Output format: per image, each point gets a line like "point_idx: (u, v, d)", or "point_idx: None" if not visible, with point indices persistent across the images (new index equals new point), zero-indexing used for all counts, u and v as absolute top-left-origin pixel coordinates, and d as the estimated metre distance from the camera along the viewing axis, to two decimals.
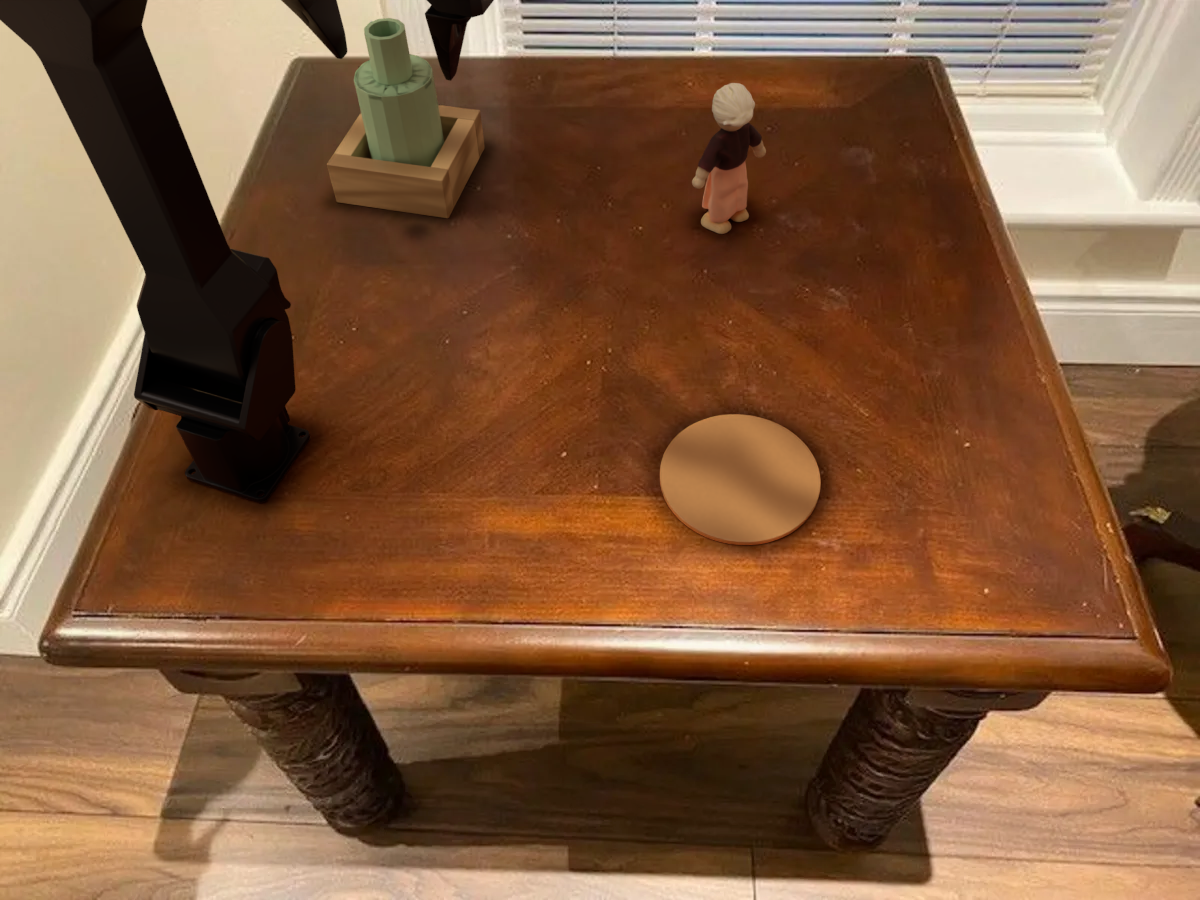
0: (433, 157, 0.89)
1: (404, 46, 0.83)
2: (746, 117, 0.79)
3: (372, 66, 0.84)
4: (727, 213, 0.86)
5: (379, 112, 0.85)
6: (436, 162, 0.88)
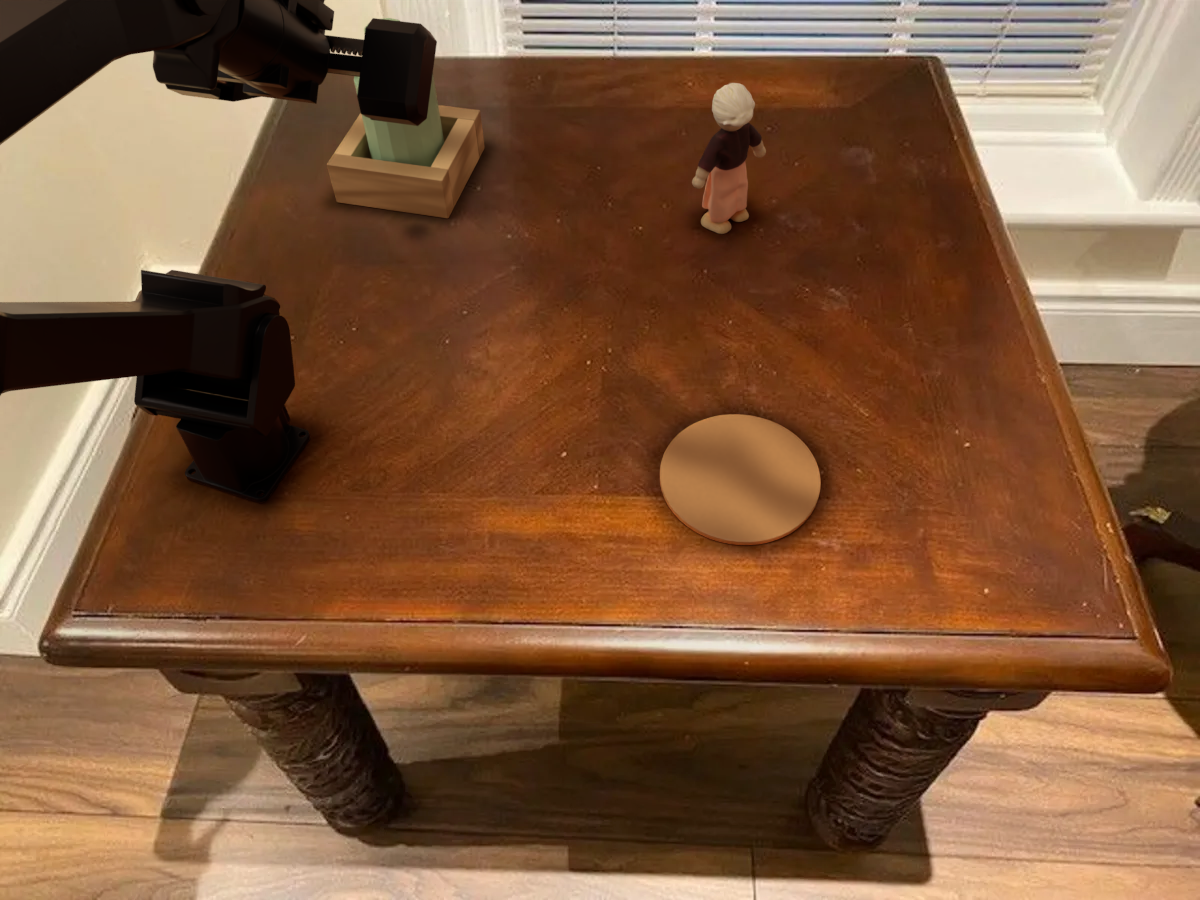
0: (433, 157, 0.89)
1: None
2: (746, 117, 0.79)
3: None
4: (727, 213, 0.86)
5: None
6: (436, 162, 0.88)
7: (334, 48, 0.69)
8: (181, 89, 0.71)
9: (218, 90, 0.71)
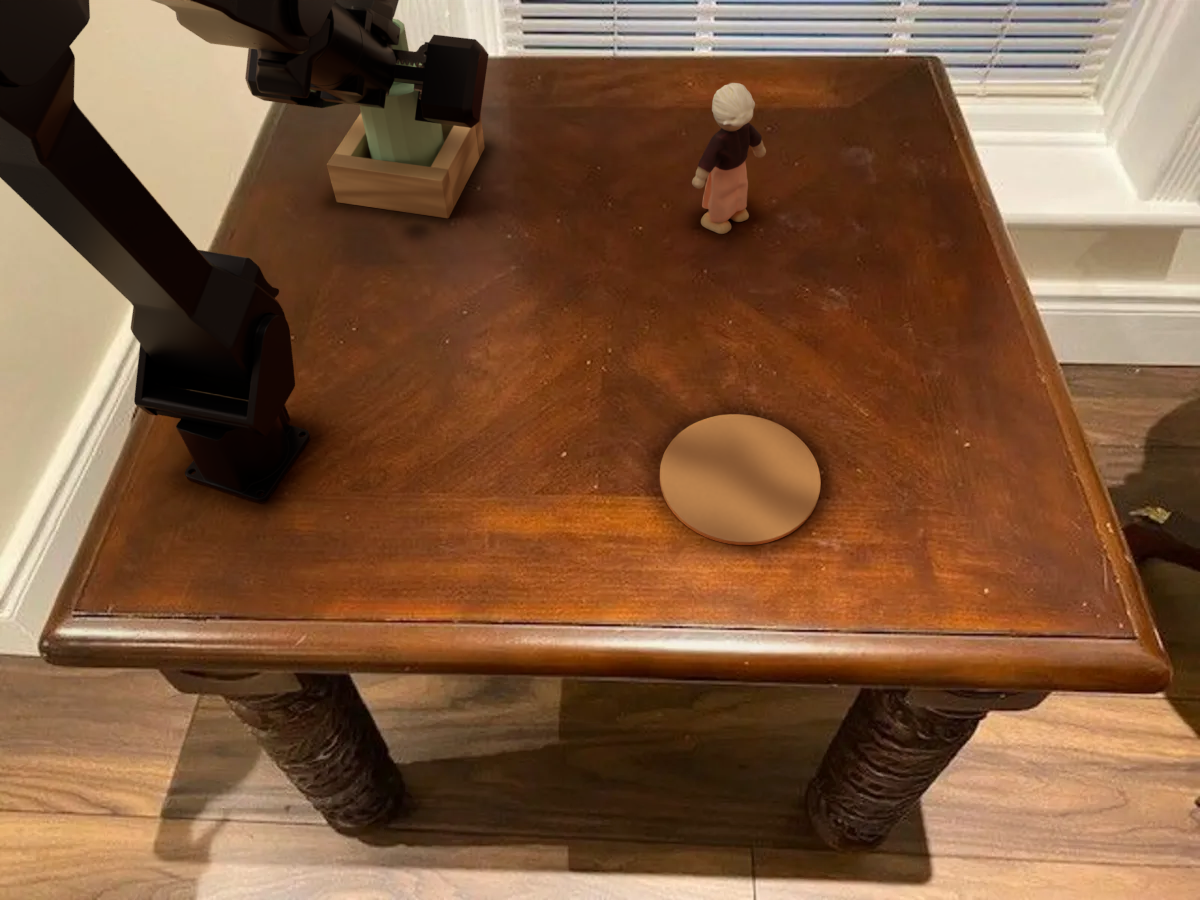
0: (433, 157, 0.89)
1: (404, 46, 0.83)
2: (746, 117, 0.79)
3: None
4: (727, 213, 0.86)
5: (379, 112, 0.85)
6: (436, 162, 0.88)
7: None
8: (265, 96, 0.81)
9: (296, 96, 0.81)
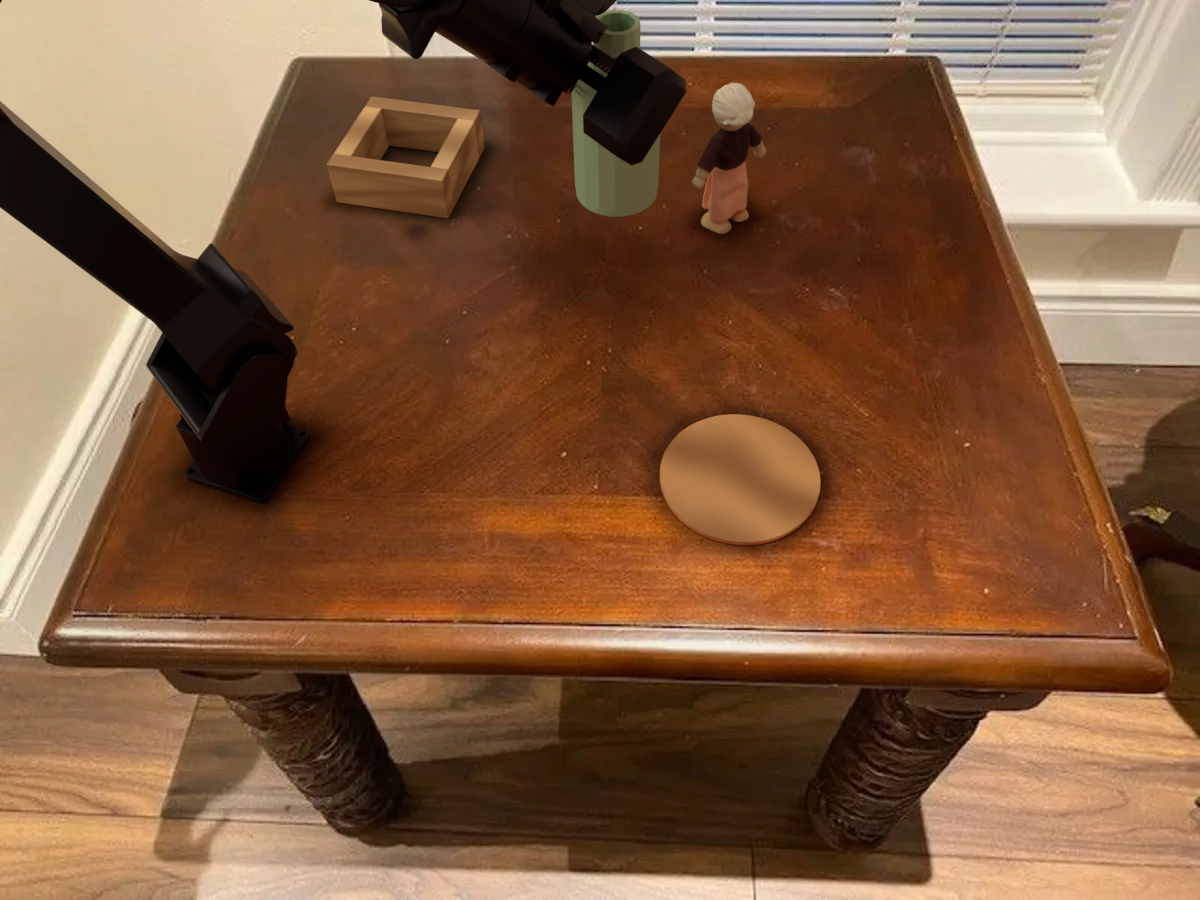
0: (628, 181, 0.77)
1: (628, 49, 0.70)
2: (746, 117, 0.79)
3: None
4: (727, 213, 0.86)
5: (579, 110, 0.73)
6: (436, 162, 0.88)
7: None
8: None
9: None
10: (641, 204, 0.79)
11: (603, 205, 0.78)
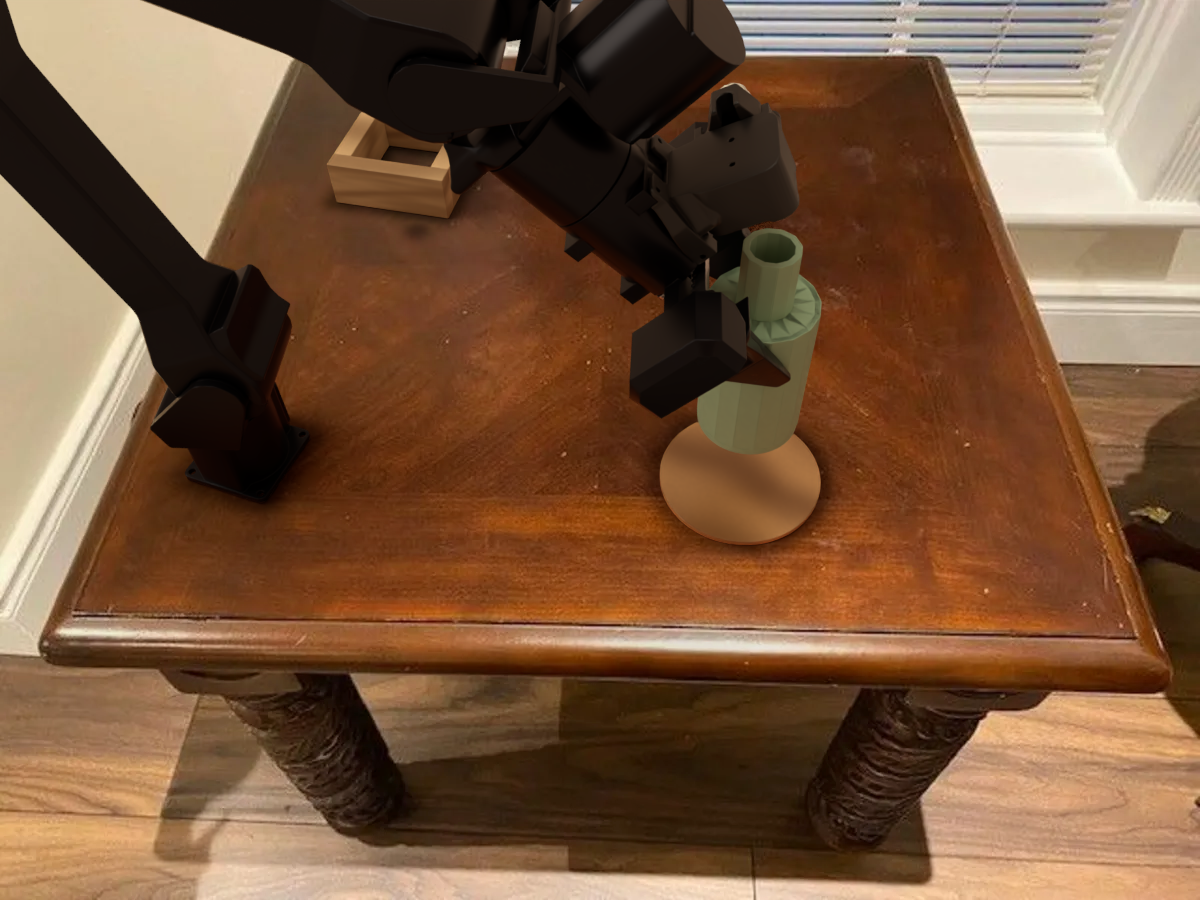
0: (732, 417, 0.62)
1: (767, 284, 0.56)
2: None
3: None
4: None
5: None
6: (436, 162, 0.88)
7: None
8: None
9: None
10: (746, 447, 0.64)
11: (705, 424, 0.65)
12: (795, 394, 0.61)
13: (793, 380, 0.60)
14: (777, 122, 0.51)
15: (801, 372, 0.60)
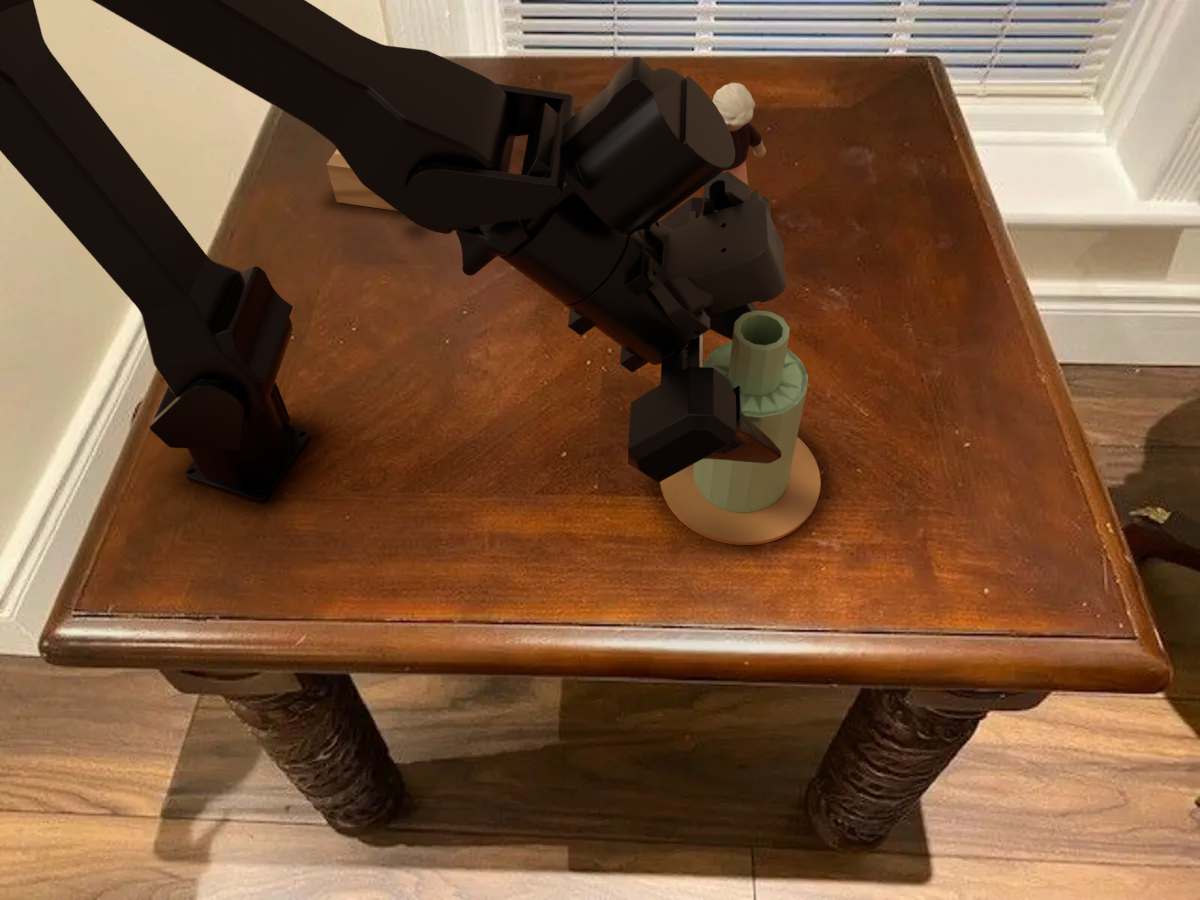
0: (725, 480, 0.67)
1: (756, 363, 0.60)
2: (746, 117, 0.79)
3: None
4: None
5: None
6: None
7: (690, 354, 0.58)
8: None
9: None
10: (739, 506, 0.68)
11: (701, 484, 0.69)
12: (784, 459, 0.66)
13: (782, 447, 0.64)
14: (765, 210, 0.55)
15: (789, 440, 0.64)
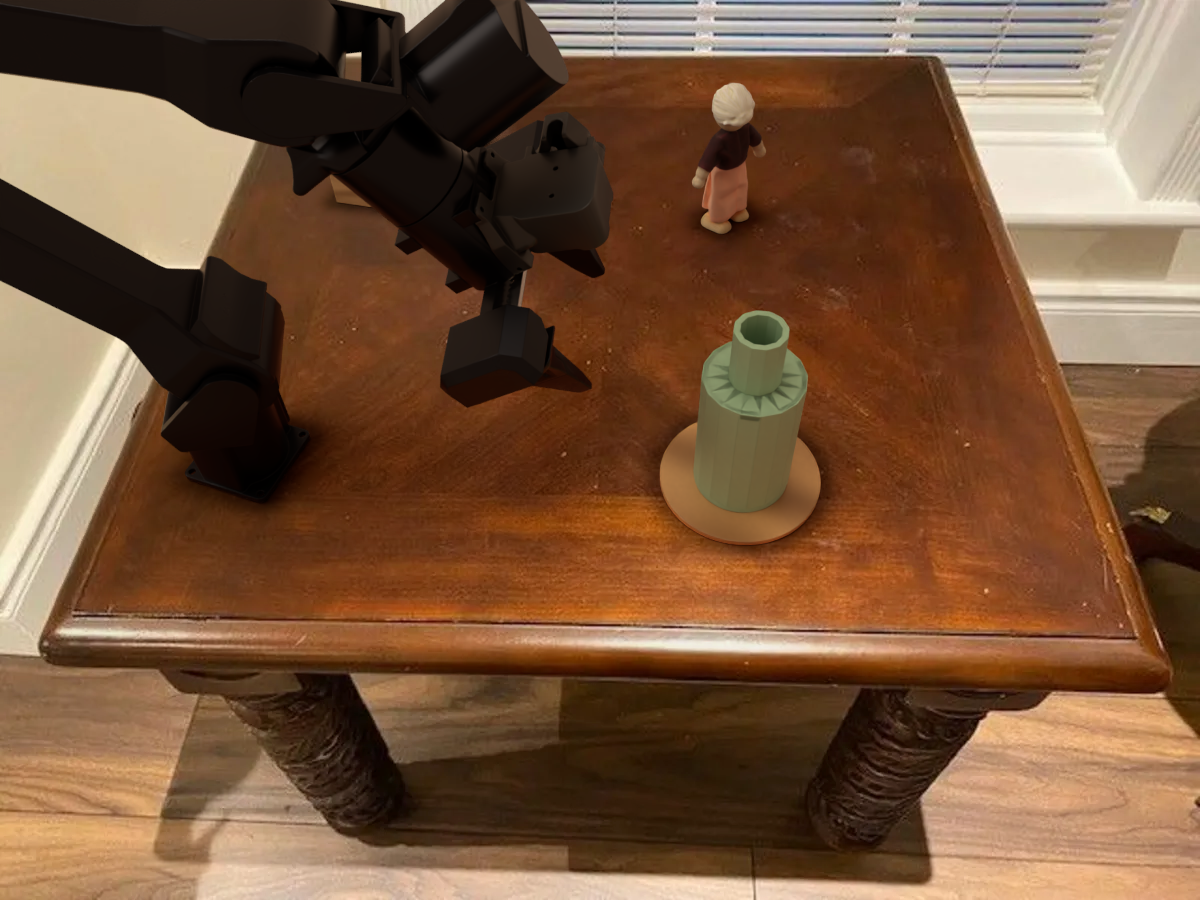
0: (725, 480, 0.67)
1: (756, 363, 0.60)
2: (746, 117, 0.79)
3: None
4: (727, 213, 0.86)
5: None
6: None
7: None
8: None
9: None
10: (739, 506, 0.68)
11: (701, 484, 0.69)
12: (784, 459, 0.66)
13: (782, 447, 0.64)
14: (597, 160, 0.56)
15: (789, 440, 0.64)
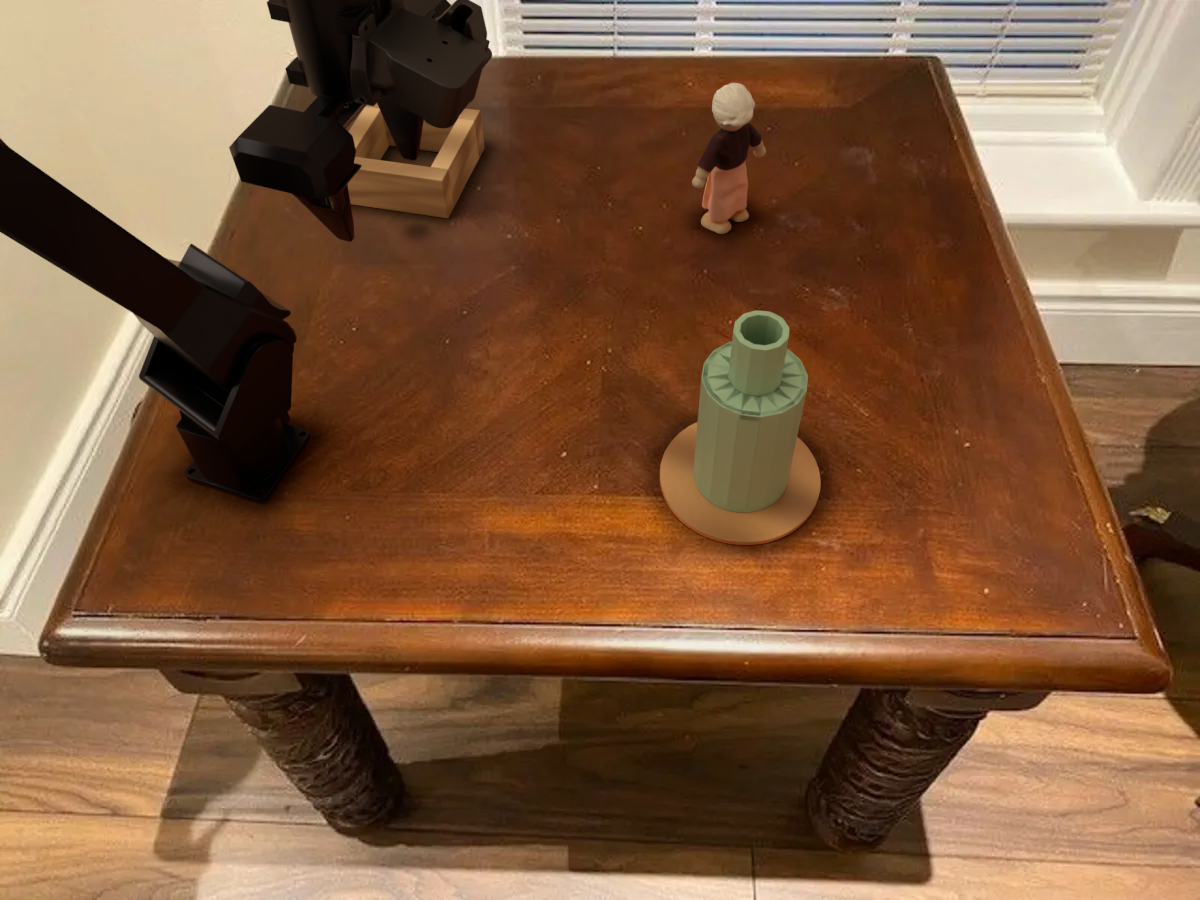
0: (725, 480, 0.67)
1: (756, 363, 0.60)
2: (746, 117, 0.79)
3: None
4: (727, 213, 0.86)
5: None
6: (436, 162, 0.88)
7: (344, 110, 0.62)
8: None
9: None
10: (739, 506, 0.68)
11: (701, 484, 0.69)
12: (784, 459, 0.66)
13: (782, 447, 0.64)
14: (482, 61, 0.60)
15: (789, 440, 0.64)
